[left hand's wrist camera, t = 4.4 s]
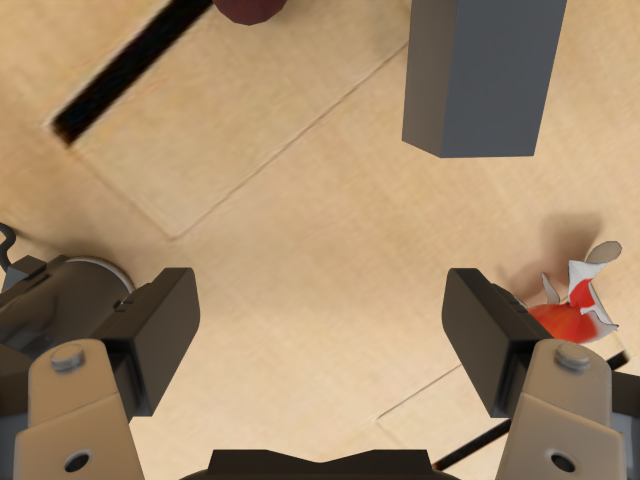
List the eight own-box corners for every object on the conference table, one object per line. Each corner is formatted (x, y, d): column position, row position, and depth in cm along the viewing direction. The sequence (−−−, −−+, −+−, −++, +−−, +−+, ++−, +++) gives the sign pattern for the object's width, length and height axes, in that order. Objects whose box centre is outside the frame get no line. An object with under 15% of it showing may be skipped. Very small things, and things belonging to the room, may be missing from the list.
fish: (474, 301, 37) (579, 358, 30) (556, 204, 41) (670, 233, 33) (488, 348, 44) (577, 403, 36) (557, 261, 47) (652, 295, 40)
